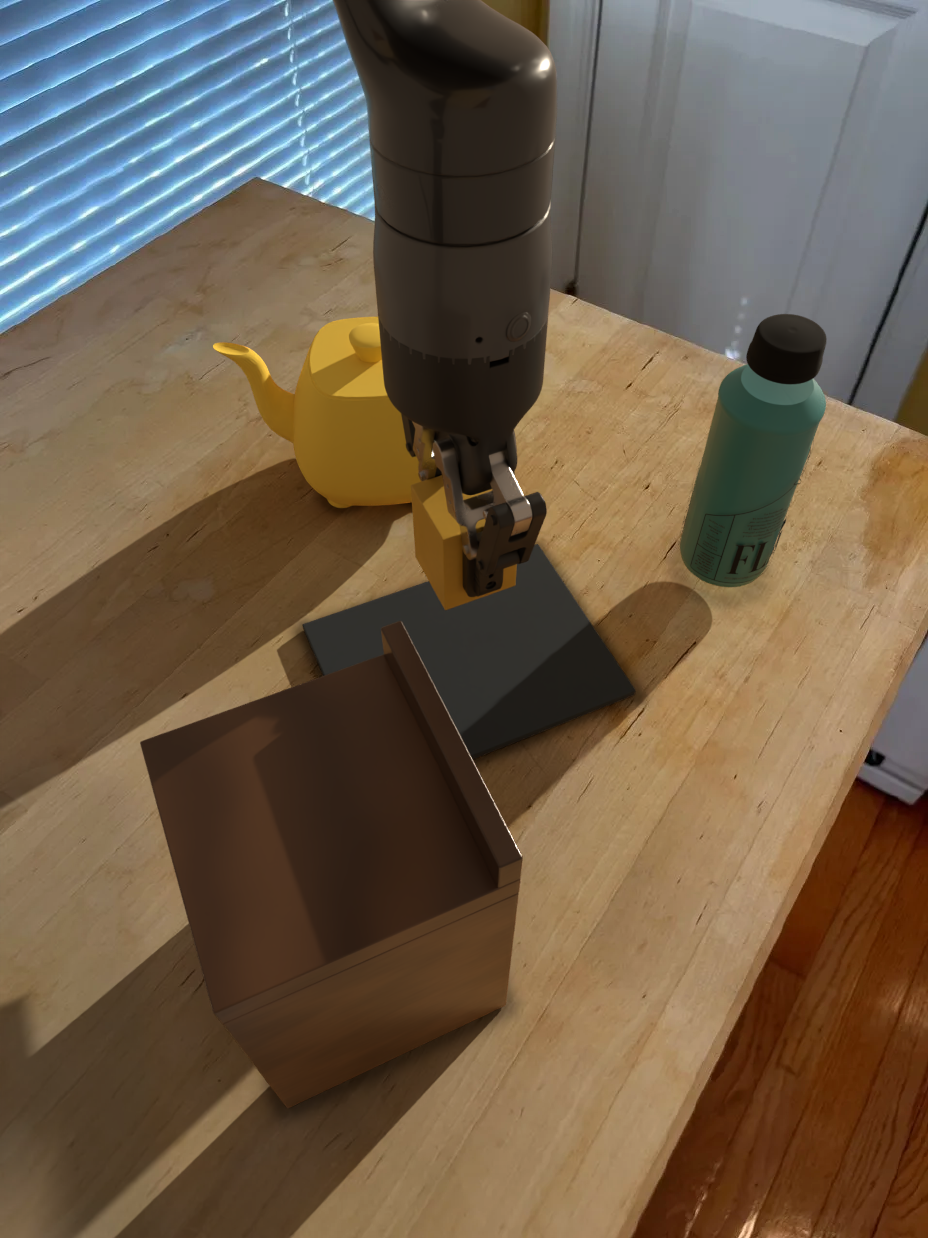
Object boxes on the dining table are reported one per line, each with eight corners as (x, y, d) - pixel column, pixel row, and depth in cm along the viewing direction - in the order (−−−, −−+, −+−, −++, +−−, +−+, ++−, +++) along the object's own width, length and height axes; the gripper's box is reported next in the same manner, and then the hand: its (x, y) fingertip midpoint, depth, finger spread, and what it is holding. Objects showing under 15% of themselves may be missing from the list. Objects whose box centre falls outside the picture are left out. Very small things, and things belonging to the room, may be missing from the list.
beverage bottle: (714, 617, 65) (793, 383, 49) (653, 556, 68) (709, 319, 52) (783, 579, 67) (881, 342, 51) (721, 522, 70) (794, 283, 55)
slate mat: (375, 798, 57) (375, 793, 56) (303, 629, 64) (301, 623, 64) (635, 695, 61) (636, 690, 61) (537, 548, 69) (538, 543, 68)
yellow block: (445, 611, 54) (442, 540, 49) (415, 556, 56) (410, 484, 51) (515, 585, 55) (520, 514, 50) (483, 534, 57) (484, 461, 52)
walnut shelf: (287, 1109, 46) (200, 997, 31) (222, 893, 53) (125, 716, 38) (506, 1005, 49) (523, 857, 34) (419, 813, 56) (401, 619, 41)
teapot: (251, 417, 78) (219, 283, 68) (491, 406, 79) (494, 272, 69) (238, 536, 70) (200, 404, 60) (506, 522, 70) (513, 389, 61)
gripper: (327, 237, 44) (360, 497, 58) (449, 422, 36) (454, 673, 50) (473, 202, 46) (472, 462, 59) (620, 371, 38) (580, 626, 51)
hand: (464, 557), depth 54 cm, fingers closed on yellow block, 4 cm apart
